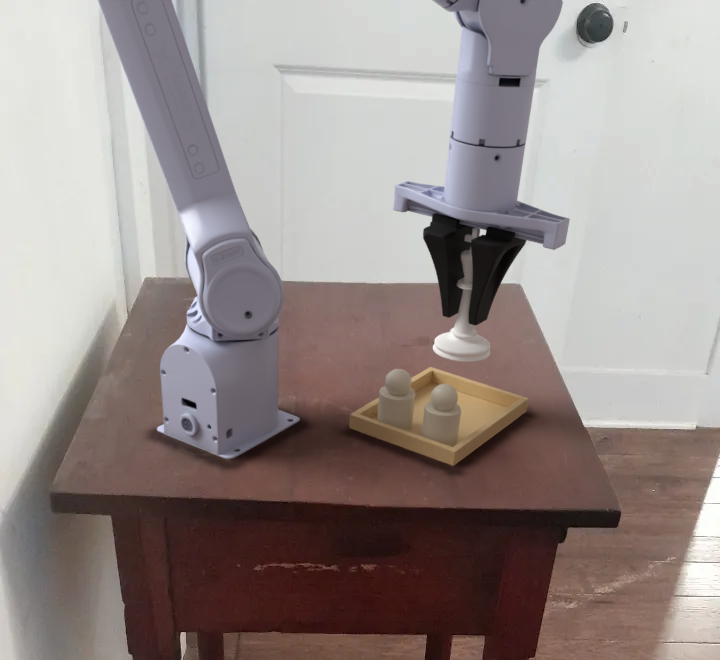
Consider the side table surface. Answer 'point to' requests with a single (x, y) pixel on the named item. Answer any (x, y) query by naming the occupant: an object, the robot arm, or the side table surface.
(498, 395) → the chess tray
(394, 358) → the side table surface
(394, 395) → the pawn
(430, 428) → the pawn
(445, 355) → the chess piece
